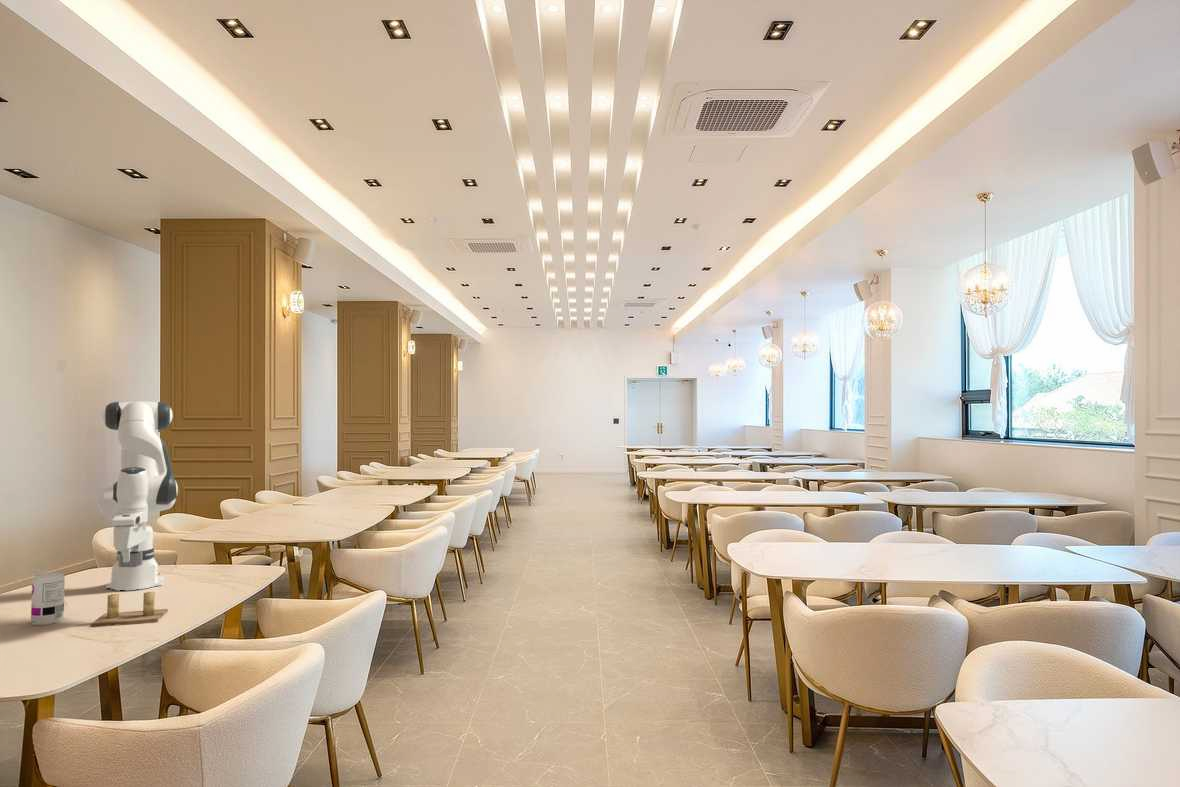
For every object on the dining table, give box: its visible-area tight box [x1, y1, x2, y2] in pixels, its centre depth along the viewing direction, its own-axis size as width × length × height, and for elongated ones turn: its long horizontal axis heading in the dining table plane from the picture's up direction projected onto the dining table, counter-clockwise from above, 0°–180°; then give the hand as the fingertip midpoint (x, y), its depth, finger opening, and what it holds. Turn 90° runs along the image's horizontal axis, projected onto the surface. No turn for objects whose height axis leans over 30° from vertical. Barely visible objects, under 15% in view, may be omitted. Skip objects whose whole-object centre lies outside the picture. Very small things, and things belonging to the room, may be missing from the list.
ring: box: [118, 551, 143, 567], centre depth 229 cm, size 6×6×4 cm
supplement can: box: [30, 571, 66, 626], centre depth 222 cm, size 8×8×15 cm
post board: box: [90, 591, 168, 628], centre depth 226 cm, size 12×18×8 cm, turn 108°
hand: (130, 559), depth 229 cm, fingers closed on ring, 6 cm apart
